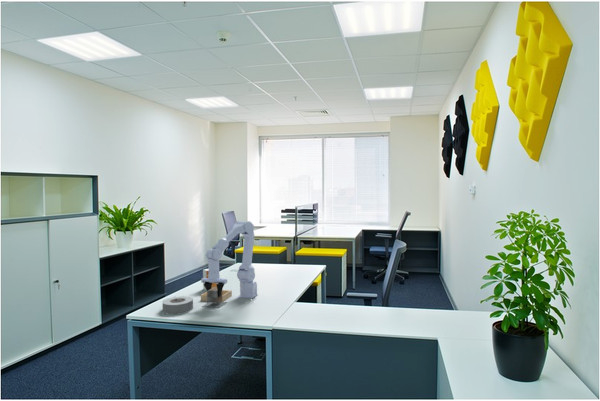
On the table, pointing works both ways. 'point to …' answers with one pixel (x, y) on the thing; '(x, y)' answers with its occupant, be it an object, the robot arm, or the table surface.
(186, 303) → the tape roll
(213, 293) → the box
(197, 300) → the table surface
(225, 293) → the shallow wooden tray
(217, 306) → the panel
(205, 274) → the small box
